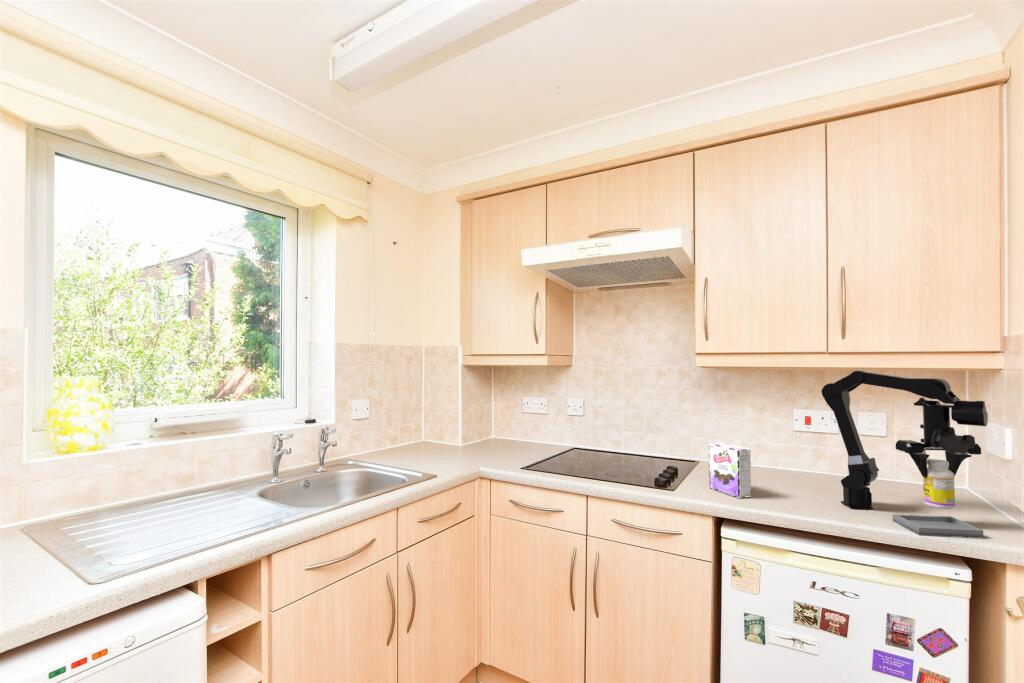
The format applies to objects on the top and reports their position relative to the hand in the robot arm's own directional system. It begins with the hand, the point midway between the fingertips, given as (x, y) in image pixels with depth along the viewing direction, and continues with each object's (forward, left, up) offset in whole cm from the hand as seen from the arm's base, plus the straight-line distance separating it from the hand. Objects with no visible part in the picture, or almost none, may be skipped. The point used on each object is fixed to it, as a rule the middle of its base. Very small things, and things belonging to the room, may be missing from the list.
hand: (938, 477), depth 135 cm
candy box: (-49, +25, -13) cm, 57 cm away
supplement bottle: (0, 0, -8) cm, 8 cm away
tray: (-4, -5, -13) cm, 15 cm away
